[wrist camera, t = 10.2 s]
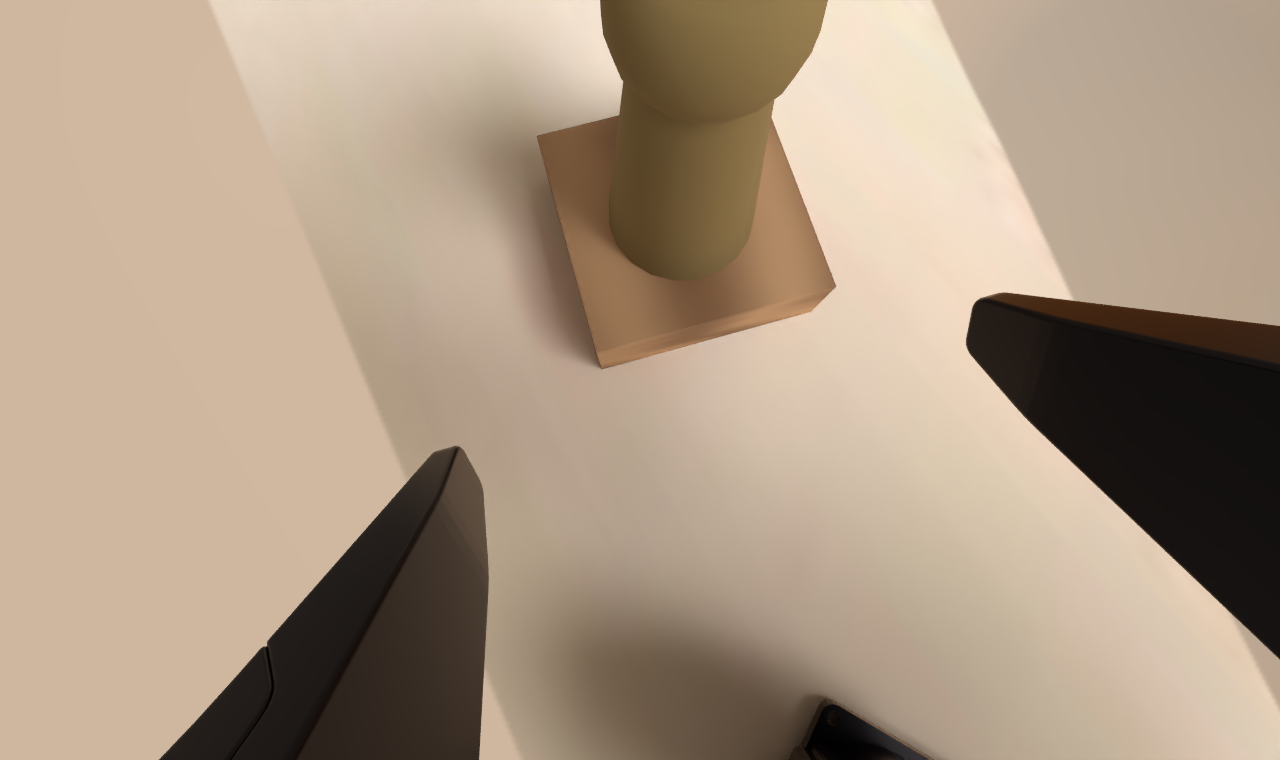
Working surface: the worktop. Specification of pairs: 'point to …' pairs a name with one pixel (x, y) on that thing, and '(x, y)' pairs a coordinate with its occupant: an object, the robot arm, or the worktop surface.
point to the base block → (682, 309)
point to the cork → (697, 122)
